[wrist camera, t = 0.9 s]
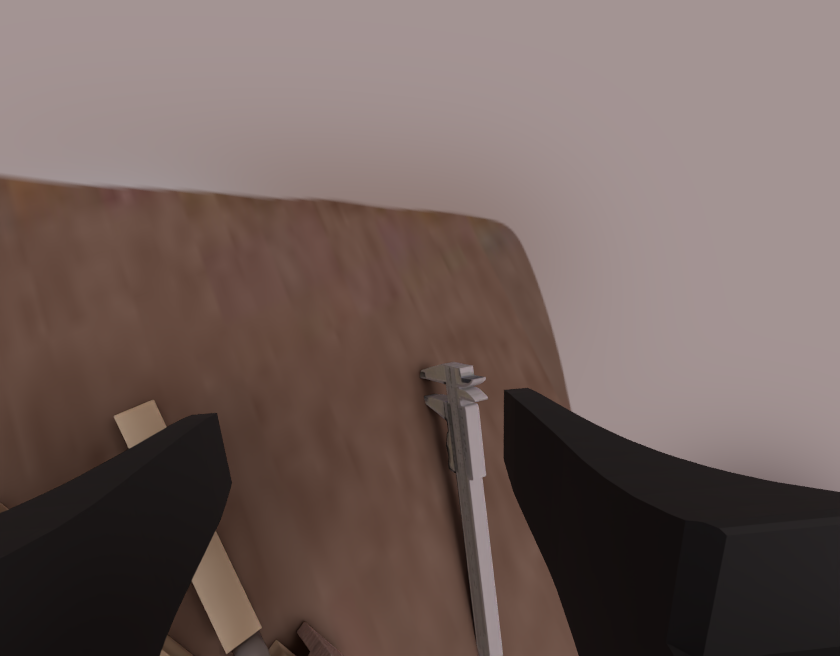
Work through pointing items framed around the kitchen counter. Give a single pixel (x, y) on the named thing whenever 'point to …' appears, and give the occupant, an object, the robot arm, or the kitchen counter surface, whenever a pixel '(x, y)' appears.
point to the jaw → (207, 560)
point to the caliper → (469, 491)
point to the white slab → (316, 642)
